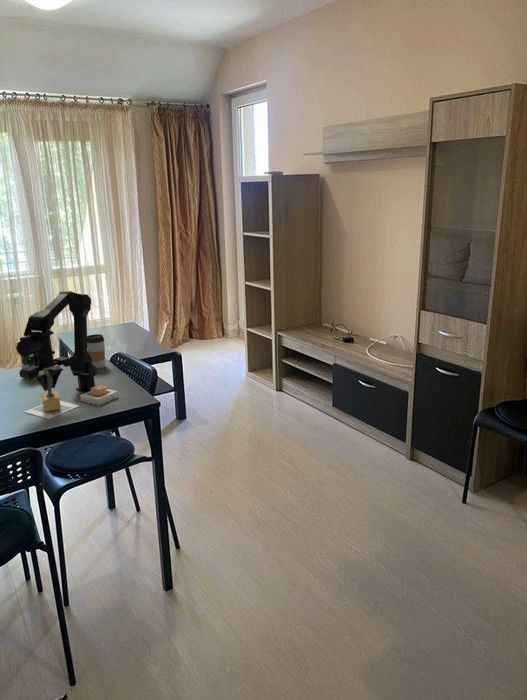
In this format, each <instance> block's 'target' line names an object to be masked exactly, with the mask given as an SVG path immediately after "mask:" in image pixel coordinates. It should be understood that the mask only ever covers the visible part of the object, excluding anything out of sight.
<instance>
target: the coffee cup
mask: <svg viewBox="0 0 527 700" xmlns="http://www.w3.org/2000/svg"><path fill="white" fill-rule="evenodd" d="M87 351H88V353H89V355H90V356H91V358H92V364H93V365H94V366H95V367H96V368H97V369H98V370H101V369H104V368H105V367H106V353H105V352H106V351H105V338H104V336H103V334H99V333H98V334H97V333H95V334H89V335H87Z"/></svg>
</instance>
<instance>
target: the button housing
mask: <svg viewBox="0 0 527 700" xmlns="http://www.w3.org/2000/svg"><path fill="white" fill-rule="evenodd" d="M79 396H80V402H82V401H83V403H86V402H88V403H87V404H90V403H92V405H95V404H96V405H95V406H101V405H103V403H104V404H105V402H106V403H108V402H110V400H111V401H113V400H115V399H117V397H118V398H119V392H118V390H115V389H114V390H113V389H108V388H107V394H105V395H103V396H99V397H95V396H91V391H88V392H84V393H83V394H80V395H79ZM114 398H115V399H114ZM112 399H113V400H112ZM107 401H108V402H107ZM100 404H101V405H100Z"/></svg>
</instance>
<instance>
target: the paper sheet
mask: <svg viewBox="0 0 527 700" xmlns="http://www.w3.org/2000/svg"><path fill="white" fill-rule="evenodd" d="M60 406H61V408H60V409H56V410H50V411H44V407H43V404H39V405H38V406H35V407H33V408H29V409H28V410H25V411H23V413H24V414H30V415H32V416H36V417H39V418H42V419H46V420H50V419H53V418H55V417H57V415H58V416H60V415H63V414H64V413H66V412H69V410H70V411H72V410H75V409H77V408H79V407H80V405H78V404H75V403H71V402H66V401H63V400H60ZM74 408H75V409H74Z"/></svg>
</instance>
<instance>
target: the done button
mask: <svg viewBox="0 0 527 700" xmlns="http://www.w3.org/2000/svg"><path fill="white" fill-rule="evenodd" d="M107 389H108V388H107V386H106V385H95V387H92V388H91V396H95V397H99V396H103V395H105V394H107Z"/></svg>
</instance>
